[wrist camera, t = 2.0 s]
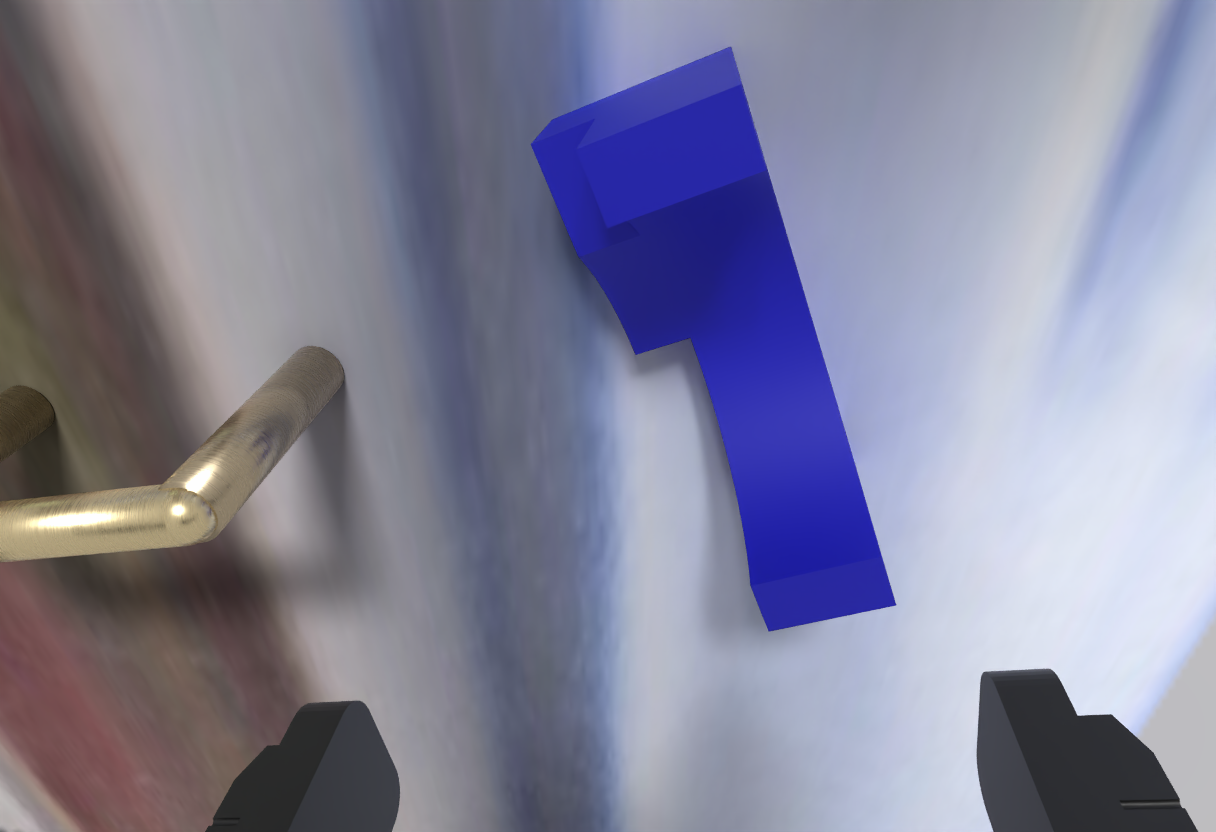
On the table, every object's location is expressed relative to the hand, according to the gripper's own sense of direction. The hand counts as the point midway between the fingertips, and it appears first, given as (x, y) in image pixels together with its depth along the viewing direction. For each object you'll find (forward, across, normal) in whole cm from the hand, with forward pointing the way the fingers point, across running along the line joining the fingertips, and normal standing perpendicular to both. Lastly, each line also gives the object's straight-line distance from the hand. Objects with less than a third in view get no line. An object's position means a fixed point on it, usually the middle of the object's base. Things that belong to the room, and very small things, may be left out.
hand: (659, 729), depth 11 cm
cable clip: (+14, -1, 0) cm, 14 cm away
